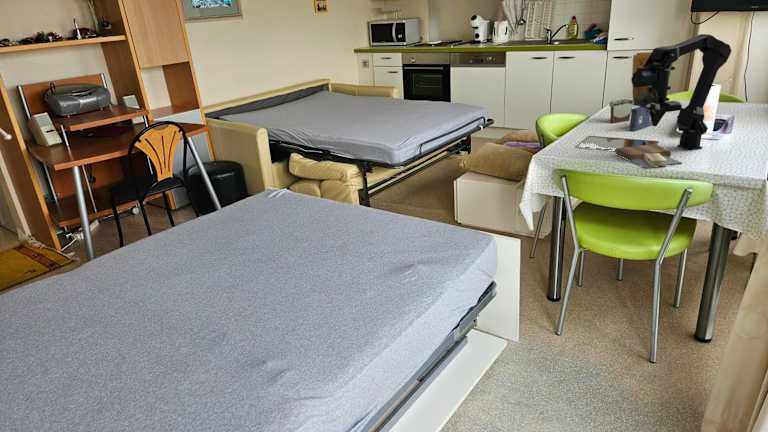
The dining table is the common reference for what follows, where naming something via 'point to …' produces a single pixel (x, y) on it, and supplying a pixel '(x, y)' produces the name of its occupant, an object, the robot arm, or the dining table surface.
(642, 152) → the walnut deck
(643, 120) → the vhs cassette tape
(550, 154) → the dining table surface
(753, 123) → the dining table surface
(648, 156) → the maple tile
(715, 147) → the dining table surface
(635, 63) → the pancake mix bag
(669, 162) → the rubber mat
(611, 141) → the rectangular mirror
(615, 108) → the food container
